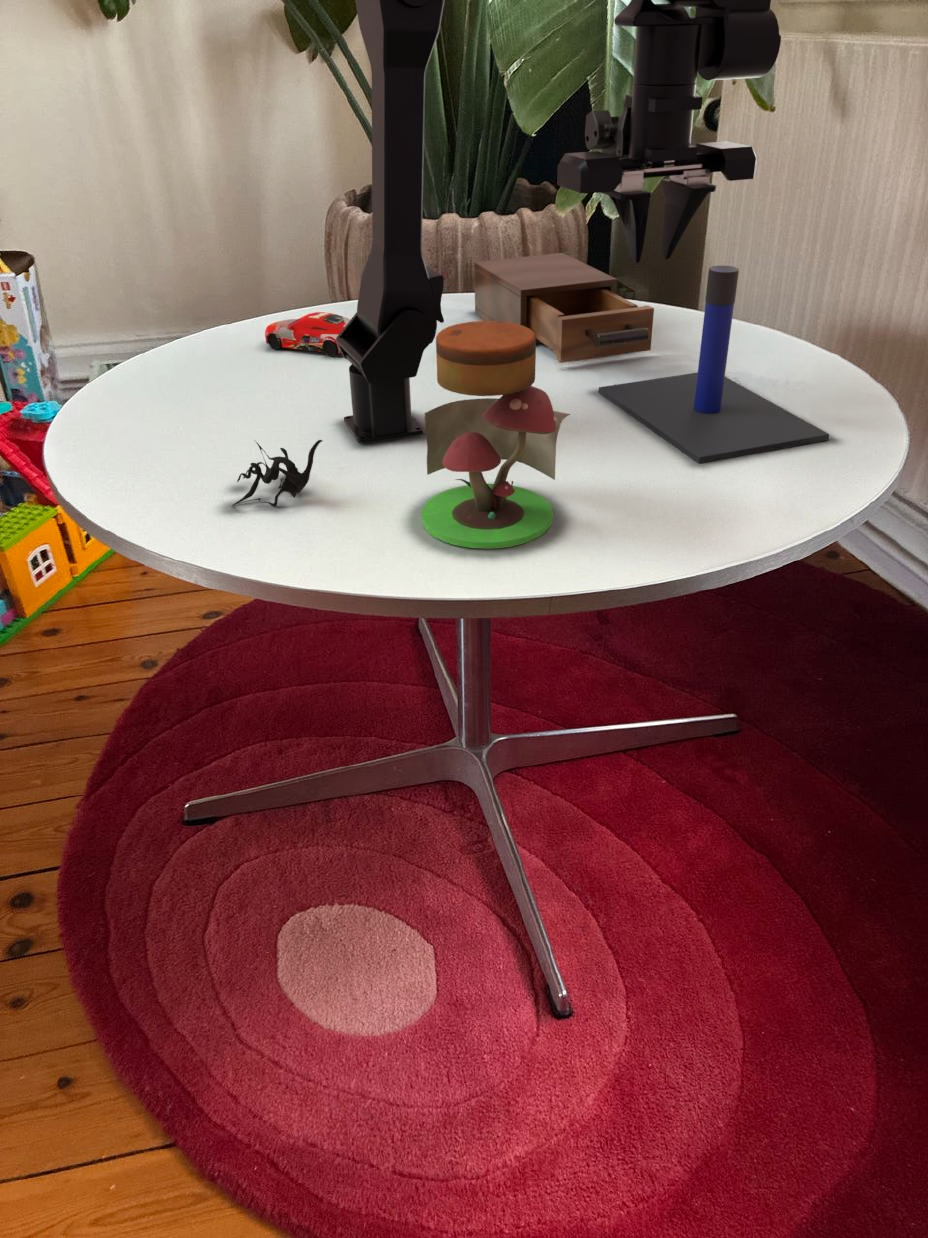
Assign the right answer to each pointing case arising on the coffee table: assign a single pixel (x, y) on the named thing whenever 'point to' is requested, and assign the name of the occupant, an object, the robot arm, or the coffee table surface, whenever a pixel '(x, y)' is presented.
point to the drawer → (589, 324)
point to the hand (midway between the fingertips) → (650, 260)
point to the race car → (307, 333)
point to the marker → (715, 337)
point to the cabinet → (530, 283)
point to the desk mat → (711, 418)
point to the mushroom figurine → (489, 436)
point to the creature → (292, 480)
